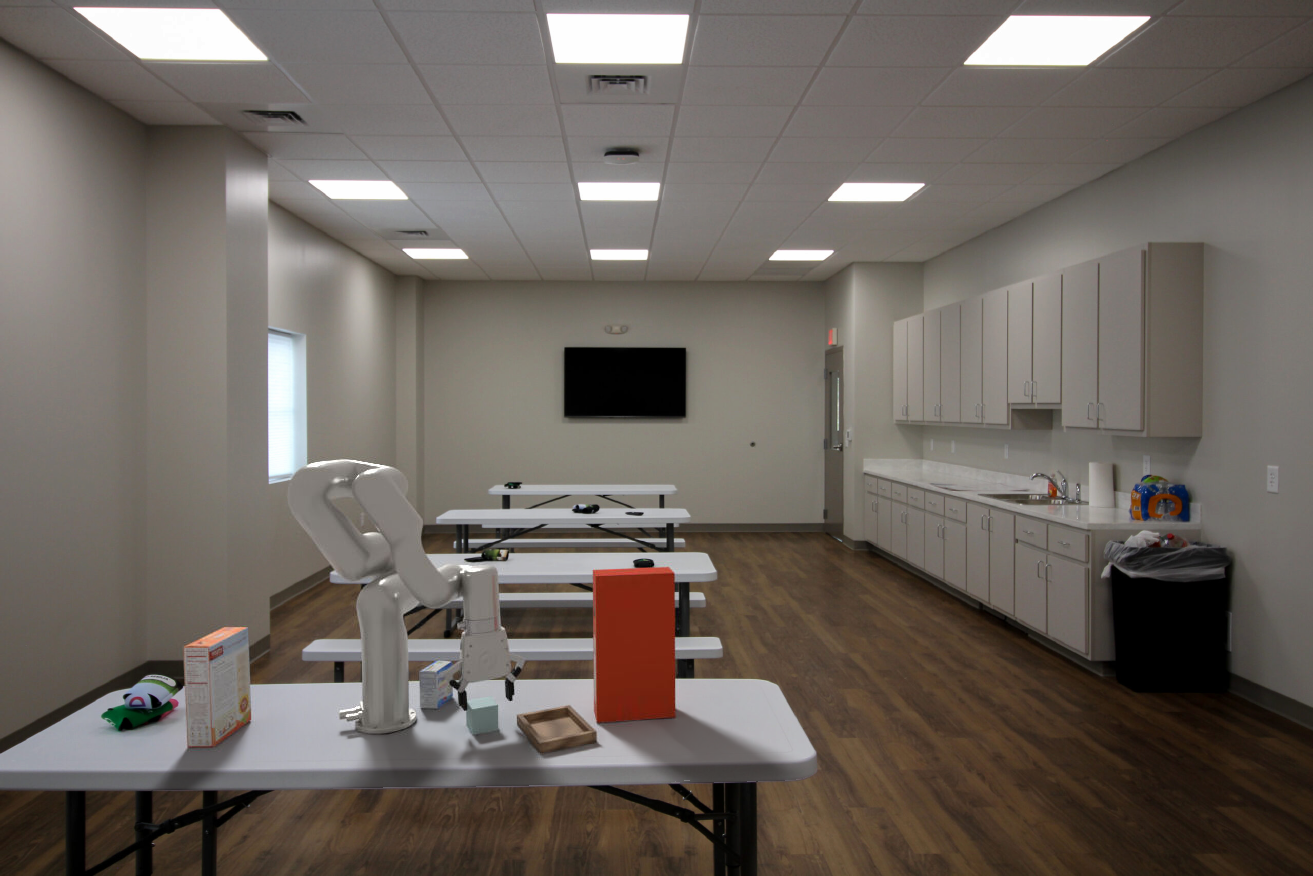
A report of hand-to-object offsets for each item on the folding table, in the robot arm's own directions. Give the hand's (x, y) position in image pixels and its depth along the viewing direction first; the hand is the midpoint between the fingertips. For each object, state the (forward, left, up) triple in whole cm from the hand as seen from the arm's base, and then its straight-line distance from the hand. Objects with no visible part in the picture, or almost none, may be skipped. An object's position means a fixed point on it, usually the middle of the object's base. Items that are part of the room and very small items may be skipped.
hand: (487, 704), depth 164 cm
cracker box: (-51, +23, -5) cm, 56 cm away
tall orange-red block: (+31, -7, -5) cm, 32 cm away
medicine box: (-7, +20, -5) cm, 22 cm away
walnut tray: (+12, -9, -5) cm, 16 cm away
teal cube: (-1, +1, -5) cm, 5 cm away
